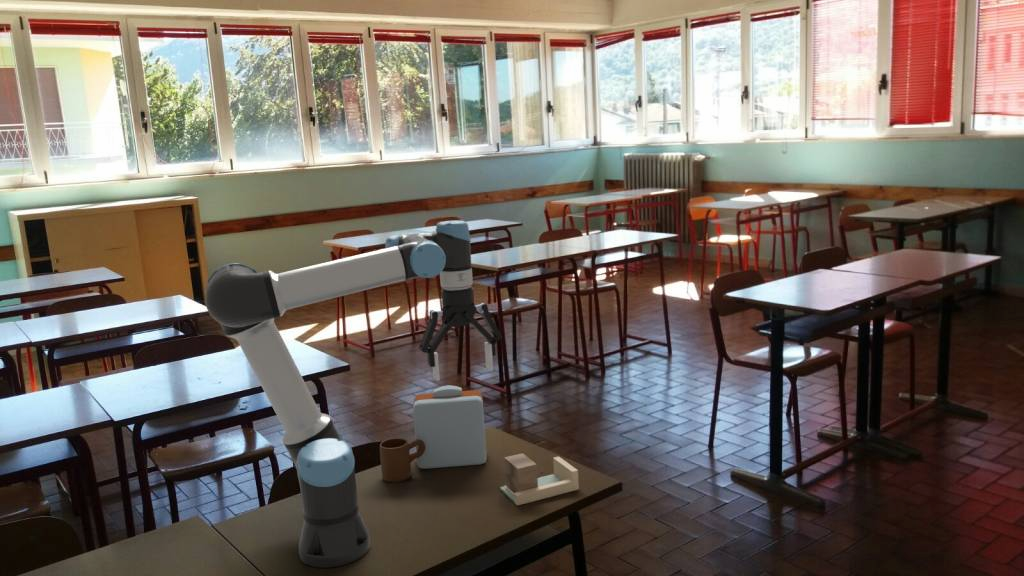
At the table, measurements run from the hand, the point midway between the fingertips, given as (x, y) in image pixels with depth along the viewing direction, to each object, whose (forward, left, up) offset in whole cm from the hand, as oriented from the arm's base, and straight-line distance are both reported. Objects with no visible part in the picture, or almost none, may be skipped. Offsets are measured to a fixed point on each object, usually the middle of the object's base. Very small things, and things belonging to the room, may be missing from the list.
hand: (463, 374), depth 194 cm
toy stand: (+15, -6, -31) cm, 35 cm away
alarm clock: (+3, +22, -31) cm, 38 cm away
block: (+11, -6, -30) cm, 32 cm away
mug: (-11, +20, -31) cm, 38 cm away
